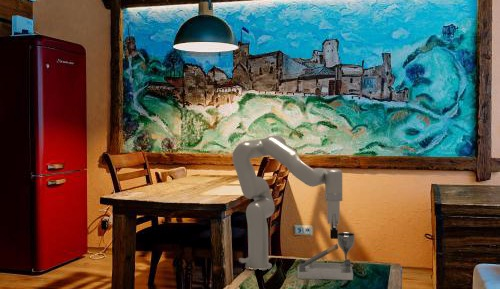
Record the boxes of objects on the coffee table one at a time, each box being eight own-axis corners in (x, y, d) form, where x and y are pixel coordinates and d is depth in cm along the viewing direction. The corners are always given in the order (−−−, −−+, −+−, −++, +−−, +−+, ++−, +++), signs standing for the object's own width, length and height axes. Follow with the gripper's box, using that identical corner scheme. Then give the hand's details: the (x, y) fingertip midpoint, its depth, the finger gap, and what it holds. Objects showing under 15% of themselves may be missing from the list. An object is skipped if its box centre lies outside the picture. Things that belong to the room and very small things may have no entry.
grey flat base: (297, 278, 241) (297, 262, 240) (298, 272, 251) (298, 256, 250) (353, 280, 238) (352, 264, 237) (351, 273, 248) (351, 258, 247)
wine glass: (355, 267, 257) (355, 235, 256) (338, 267, 257) (338, 236, 256) (352, 263, 265) (352, 232, 264) (336, 263, 265) (336, 232, 264)
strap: (302, 268, 243) (301, 265, 243) (303, 264, 248) (301, 262, 248) (338, 248, 240) (337, 246, 240) (338, 245, 245) (336, 243, 245)
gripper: (325, 194, 250) (325, 234, 251) (325, 199, 235) (325, 242, 236) (341, 194, 249) (341, 234, 250) (343, 199, 234) (343, 242, 235)
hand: (334, 238), depth 243 cm, fingers closed
